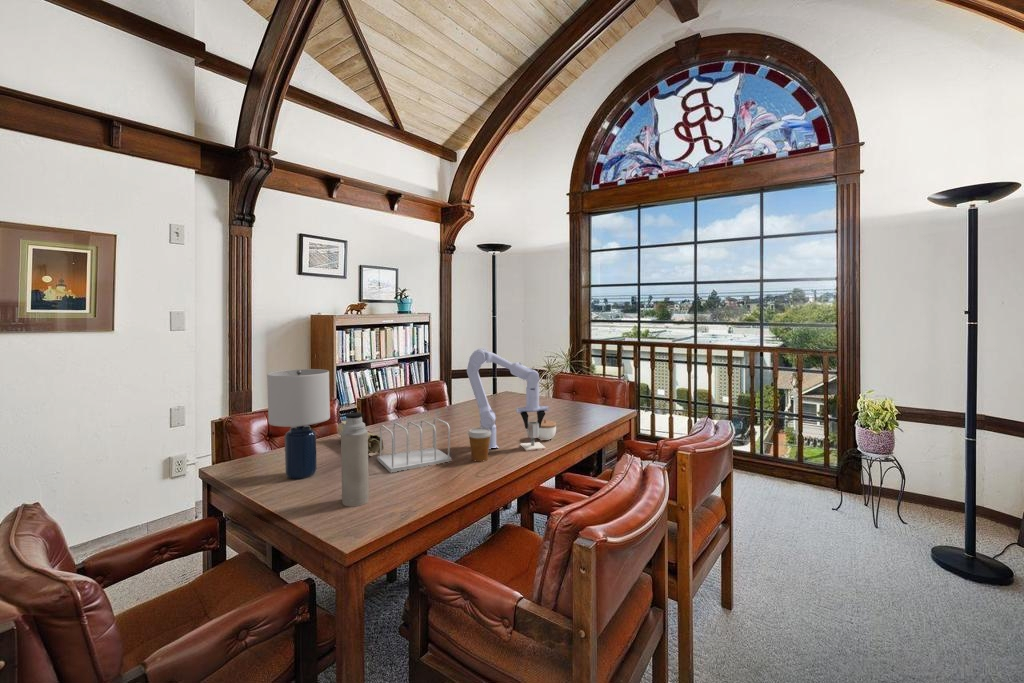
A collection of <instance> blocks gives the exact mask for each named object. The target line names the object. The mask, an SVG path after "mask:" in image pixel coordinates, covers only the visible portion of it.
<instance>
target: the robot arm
mask: <svg viewBox="0 0 1024 683" xmlns="http://www.w3.org/2000/svg"><path fill="white" fill-rule="evenodd" d="M468 360H469V361H468V364H467V367H466V373H467V376H468V380H469V383H470V386H471V388H472V392H473V395H474V398H475V401H476V404H477V406H478V410H479V411H478V412H479V417H480V420H479V422H480V426H479V428H487V429H490V432H491V436H490V442H489V450H492V449H491V448H496V447H497V448H498V449H499V448H500V447H499V445H497V425H496V424H495V422H496V420H497V415H496V413H495V412H494V411H493V410H492V407H491V405H490V403H489V399H488V397H487V395H486V391H485V388H484V385H483V382H482V380H481V376H480V372H479V370H480V368H481V367H482V365H483V364H484V363H486V364H489V363H493V364H496V365H498V366H500V367H503V368H505V369H508V370H509V371H510V374H511V375H512V376H514V377H517V378H519V379H521V380H523V381H526V388H525V391H526V392H525V397H526V398H525V400H526V402H525V406H522V407H521V406H520V407H516V409H515V410H516V413H517V414H520V416H521V418H522V421H523V424H524V428H525V429H526V430H527V429H528V422H529V414H528V413H535V412H536V416H537V421H536V422H538V423H539V428H540V427H541V423H542V421H544V417H545V416H546V412H549V411H550V407H549V406H548V405H547V406H546V405H545V406H543V405H542V406H541V405H540V383H539V381H540V380H541V379H540V374H539V372H538V371H537V370H536V369H532V367H527V366H525V365H523V362H518V361H516V362H511V361H509V360H507V359H506V358H504V357H502V356H500V355H498V354H496V353H494V352H492V351H489V350H486V349H484V348H478V349H476V350H474V351H473V352H472V353H471V355H470V356H469V359H468Z"/></svg>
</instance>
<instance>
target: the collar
mask: <svg viewBox="0 0 1024 683" xmlns="http://www.w3.org/2000/svg"><path fill="white" fill-rule="evenodd" d="M538 437H539V423H538V422H537V421H528V429H526V438H530V439H532V438H534V439H535V438H537V439H538Z"/></svg>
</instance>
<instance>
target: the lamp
mask: <svg viewBox="0 0 1024 683" xmlns="http://www.w3.org/2000/svg"><path fill="white" fill-rule="evenodd" d="M266 379H267V381H266V383H267V384H266V385H267V413H268V414H267V415H268V416H267V418H268V421H267V422H268V425H270V426H274V427H279V428H280V427H283V428H285V427H286V428H287V427H288V428H289V427H290V428H289V430H288V431H287V432H286V433H285V434H284V452H285V454H284V455H285V456H284V457H285V458H284V459H285V462H284V464H285V474H286V476H287V477H288V479H292V480H301V479H307V478H310V477H312V476H314V475H315V474H316V472H317V468H318V466H317V463H318V462H317V434H316V431H315V430H314V429H312V428H311V426H312V425H317V424H320V423H324V422H326V421H329V419H331V406H330V405H331V403H330V400H331V399H330V371H329V370H328V369H321V368H316V369H315V368H302V369H301V368H300V369H286V370H276V371H272V372H271V371H270V372H268V373H267V374H266ZM310 425H311V426H310Z"/></svg>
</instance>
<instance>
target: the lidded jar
mask: <svg viewBox="0 0 1024 683" xmlns="http://www.w3.org/2000/svg"><path fill="white" fill-rule="evenodd" d="M556 432H557V422H556V421H552V420H547V419H543V420H542V423H541V427H540V428H539V437H537V439H538V440H539V439H551V438H552V439H553V438H555V435H556ZM552 439H551V440H552Z"/></svg>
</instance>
